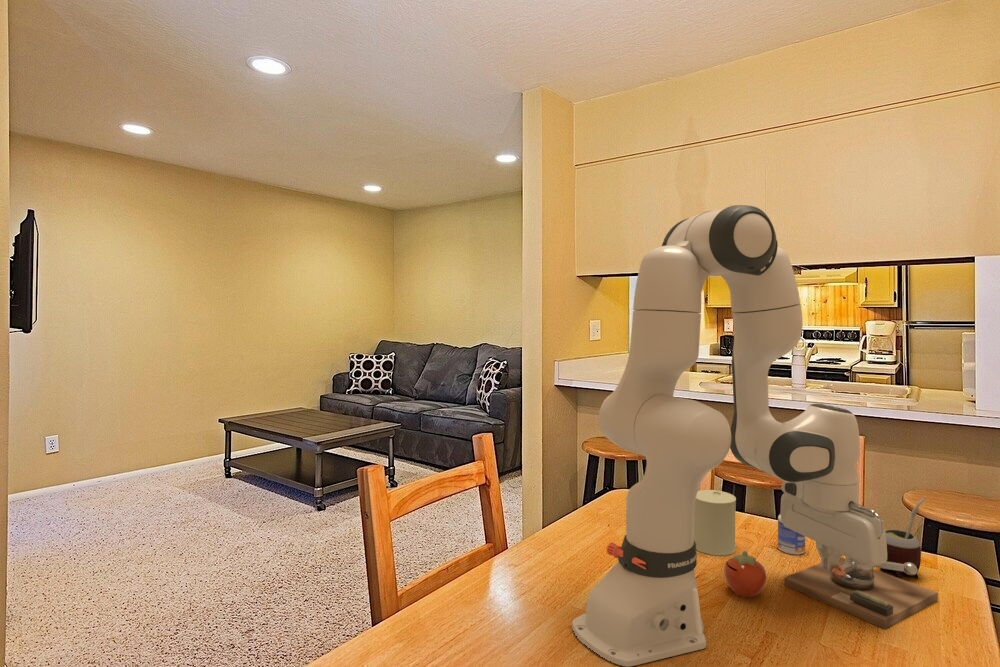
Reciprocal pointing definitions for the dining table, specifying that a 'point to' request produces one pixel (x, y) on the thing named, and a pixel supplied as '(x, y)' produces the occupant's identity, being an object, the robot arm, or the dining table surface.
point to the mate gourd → (903, 547)
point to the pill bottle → (790, 540)
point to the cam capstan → (864, 573)
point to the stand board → (864, 595)
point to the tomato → (745, 575)
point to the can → (715, 522)
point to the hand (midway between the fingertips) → (829, 569)
